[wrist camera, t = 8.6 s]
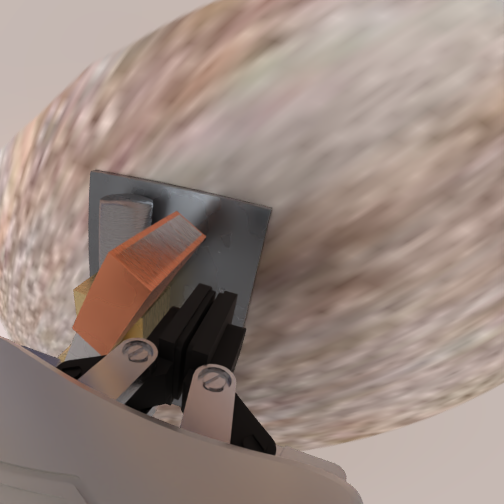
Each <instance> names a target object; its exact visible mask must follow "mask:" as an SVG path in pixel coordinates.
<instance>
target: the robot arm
mask: <svg viewBox="0 0 504 504" xmlns="http://www.w3.org/2000/svg"><path fill="white" fill-rule="evenodd" d="M215 296H216V291H213V290H212V286H208V285H205V284H202V283H199V284H198V285H197V287H196V288H195V289H194V291H193V292H192V293H191V295H190V296H189V297H188V299H187V300H186V301H185V303H184V304H183V305H182V307H181V308H178V307H176V306H172V307H171V308H170V309H169V311H168V312H167V313H166V314H165V316H164V317H163V318H162V319H161V321H160V322H159V323H158V325H157V326H156V327H155V328H154V330H153V331H152V332H151V333H150V335H149V336H148V337H147V339H144V338H130V339H127V340H125V341H123V342H122V343H121V344H119V345H118V346H117V347H116V348H115V349H113V350H112V351H111V352H110V353H109V354H108V355H102V356H96V357H89V358H81V359H74V360H68V361H64V362H61V360H60V359H59V358H56V357H53V356H50V355H47V354H44V353H41V352H39V351H36V350H33V349H31V348H28V347H26V346H21V345H18V344H16V343H15V342H13V341H11V340H9V339H6V338H4V337H1V336H0V504H363V502H362V499H361V497H360V495H359V493H358V491H357V490H356V489H355V488H354V487H353V486H351V485H350V484H349V483H347V482H346V474H345V472H344V470H343V469H342V468H341V467H340V466H339V465H336V464H335V463H332V462H329V461H326V460H323V459H320V458H317V457H315V456H311V455H309V454H306V453H304V452H301V451H298V450H296V449H293V448H291V447H288V446H285V448H284V447H281V446H279V445H276V444H275V442H274V440H273V439H272V437H271V436H270V435H269V434H268V433H267V431H266V430H265V429H264V428H263V427H262V425H261V424H260V423H259V422H258V420H257V419H256V418H255V417H254V416H253V414H252V413H251V412H250V411H249V409H248V408H247V407H246V405H245V404H244V403H243V402H242V400H241V399H240V398H239V396H238V395H237V394H236V393H235V391H236V378H235V376H234V374H233V372H234V369H235V366H236V363H237V360H238V357H239V354H240V350H241V347H242V344H243V340H244V336H245V332H246V328H243V327H239V326H236V325H232V319H233V315H234V310H235V306H236V302H237V297H238V294H235V293H232V292H229V291H224V293H220V292H219V294H218V295H217V297H216V299H215ZM181 394H182V403H181V410H182V412H183V417H182V421H181V425H180V428H179V427H177V426H174V425H171V424H169V423H166V422H164V421H161V420H159V419H156V418H154V417H152V416H153V414H154V413H155V412H156V410H157V408H158V405H162V404H165V403H166V404H168V405H171V404H172V402H173V400H174V399H176V400H179V398H180V396H181Z"/></svg>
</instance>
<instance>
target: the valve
mask: <svg viewBox="0 0 504 504" xmlns="http://www.w3.org/2000/svg"><path fill="white" fill-rule="evenodd" d="M271 209H272V208H270V207H266V206H262V205H258V204H254V203H250V202H246V201H242V200H237V199H233V198H229V197H225V196H220V195H216V194H212V193H207V192H203V191H198V190H194V189H189V188H184V187H180V186H175V185H170V184H166V183H161V182H156V181H151V180H146V179H141V178H135V177H130V176H125V175H120V174H114V173H109V172H103V171H97V170H94V171H91V173H90V190H89V265H90V278H89V279H87V280H86V281H84V282H83V283H82V284H80V285H79V286H78V287H76V288H75V289H74V290H73V291H74V299H75V307H76V314H77V316H78V313H79V311H80V309H81V307H82V305H83V302H84V300H85V298H86V296H87V294H88V292H89V290H90V287H91V285H92V283H93V281H94V279H95V277H96V275H97V273H98V271H99V269H100V267H101V265H102V263H103V262H104V260H105V258H106V256H107V254H108V252H110V251H111V250H113V249H114V248H116V247H117V246H119V245H121V244H122V243H124V242H125V241H127V240H129V239H130V238H132V237H133V236H135V235H137V234H138V233H140V232H142V231H143V230H145V229H147V228H148V227H150V226H152V225H153V224H155V223H157V222H158V221H160V220H162V219H163V218H165V217H167V216H169V215H170V214H172V213H174V212H175V211H177V212H179V213H180V214H181V215H182V216H183V217H184V218H185V219H187V220H188V221H189V222H190V223H191V224H192V225H194V226H195V227H196V228H197V229H198V230H199V231H200V232H202V233H203V234H204V235H205V236H206V238H205V239H204V241H203V242H202V243H201V244H200V246H199V247H198V248H197V249H196V250H195V252H194V253H193V254H192V255H191V257H190V258H189V259H188V260H187V262H186V263H185V264H184V265H183V267H182V268H181V269H180V270H179V272H178V273H177V274H176V276H175V277H174V278H173V279H172V281H171V282H170V283H169V285H168V286H167V287H166V288H165V290H164V291H163V292H162V294H161V295H160V296H159V297H158V298H157V300H156V301H155V302H154V303H153V304H152V305H151V306H150V307H149V308H148V310H147V311H146V312H145V313H144V314H143V315H142V316H141V317H140V319H139V320H138V321H137V322H136V323H135V324H134V325H133V326H132V328H131V329H130V330H129V331H128V332H127V334H126V335H125V336H124V338H123V339H122V341H125V340H127V339H130V338H144V339H147V337H148V336H149V335H150V333H151V332H152V331H153V330H154V328H155V327H156V326H157V325H158V323H159V322H160V321H161V319H162V318H163V317H164V316H165V314H166V313H167V312H168V311H169V309H170V308H171V307H172V306H176V307H178V308H181V307H182V305H183V304H184V303H185V301H186V300H187V299H188V297H189V296H190V295H191V293H192V292H193V291H194V289H195V288H196V287H197V285H198V284H199V283H202V284H205V285H208V286H212V290H213V291H216V296H215V299H216V297H217V295H218V294H219V292H220V293H224V291H229V292H232V293H235V294H238V297H237V302H236V306H235V310H234V315H233V319H232V325H236V326H239V327H244V323H245V319H246V315H247V310H248V306H249V302H250V298H251V294H252V290H253V285H254V281H255V277H256V273H257V269H258V265H259V260H260V256H261V252H262V248H263V243H264V239H265V235H266V231H267V226H268V222H269V218H270V214H271ZM181 403H182V394H181V396H180V398H179V400H176V399H174V400H173V402H172V404H174V405H177V406H180V407H181Z"/></svg>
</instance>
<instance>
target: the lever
mask: <svg viewBox="0 0 504 504" xmlns="http://www.w3.org/2000/svg"><path fill="white" fill-rule="evenodd" d="M205 238H206V236H205V235H204V234H203V233H202V232H200V231H199V230H198V229H197V228H196V227H195V226H194V225H192V224H191V223H190V222H189V221H188V220H187V219H185V218H184V217H183V216H182V215H181V214H180V213H179V212H177V211H175V212H174V213H172V214H170V215H169V216H167V217H165V218H163V219H162V220H160V221H158V222H157V223H155V224H153V225H152V226H150V227H148V228H147V229H145V230H143V231H142V232H140V233H138V234H137V235H135V236H133V237H132V238H130V239H129V240H127V241H125V242H124V243H122V244H121V245H119V246H117V247H116V248H114V249H113V250H111V251H110V252H108V254H107V256H106V258H105V260H104V262H103V263H102V265H101V267H100V269H99V271H98V273H97V275H96V277H95V279H94V281H93V283H92V285H91V287H90V290H89V292H88V294H87V296H86V298H85V300H84V302H83V305H82V307H81V309H80V311H79V313H78V316H77V318H76V320H75V323H74V325H73V327H72V328H73V329H74V330H75V331H76V335H75V337H74V339H73V342H72V344H71V345H70V346H69V347H68V348H67V349H66V350H65V351H64V352H63V353H62V354H61V355H60V356H59V357H58V358H59V359H60V360H61V362H64V361H68V360H74V359H81V358H89V357H96V356H102V355H108V354H109V353H110V352H111V351H112V350H113V349H115V348H116V347H117V346H118V345H119V344H121V343H122V342H123V341H122V339H123V338H124V336H125V335H126V334H127V332H128V331H129V330H130V329H131V328H132V326H133V325H134V324H135V323H136V322H137V321H138V320H139V319H140V317H141V316H142V315H143V314H144V313H145V312H146V311H147V310H148V308H149V307H150V306H151V305H152V304H153V303H154V302H155V301H156V300H157V298H158V297H159V296H160V295H161V294H162V292H163V291H164V290H165V288H166V287H167V286H168V285H169V283H170V282H171V281H172V279H173V278H174V277H175V276H176V274H177V273H178V272H179V270H180V269H181V268H182V267H183V265H184V264H185V263H186V262H187V260H188V259H189V258H190V257H191V255H192V254H193V253H194V252H195V250H196V249H197V248H198V247H199V246H200V244H201V243H202V242H203V241H204V239H205Z"/></svg>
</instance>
